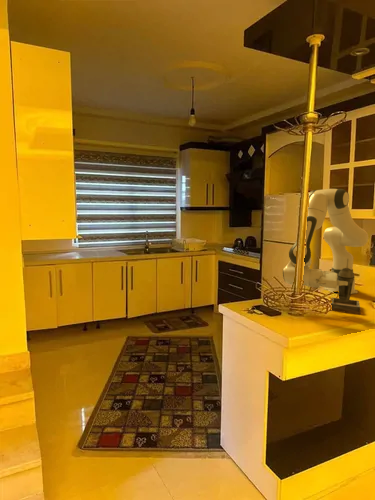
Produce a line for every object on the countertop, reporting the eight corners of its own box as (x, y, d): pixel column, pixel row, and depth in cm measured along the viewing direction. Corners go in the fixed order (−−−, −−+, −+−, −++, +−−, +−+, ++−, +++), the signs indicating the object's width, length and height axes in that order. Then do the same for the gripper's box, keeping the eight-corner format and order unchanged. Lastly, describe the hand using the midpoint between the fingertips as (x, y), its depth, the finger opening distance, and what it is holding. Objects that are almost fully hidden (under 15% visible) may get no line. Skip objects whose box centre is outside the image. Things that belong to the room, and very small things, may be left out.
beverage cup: (335, 300, 167) (338, 259, 164) (336, 297, 173) (340, 257, 170) (351, 303, 163) (355, 260, 160) (352, 299, 170) (356, 258, 167)
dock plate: (330, 303, 189) (330, 297, 188) (359, 306, 183) (359, 300, 183) (329, 310, 176) (330, 304, 175) (360, 314, 170) (361, 307, 170)
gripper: (315, 276, 162) (348, 279, 156) (318, 268, 180) (347, 271, 175) (314, 289, 163) (347, 293, 157) (317, 280, 181) (346, 283, 176)
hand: (347, 281), depth 166 cm, fingers closed on beverage cup, 7 cm apart
